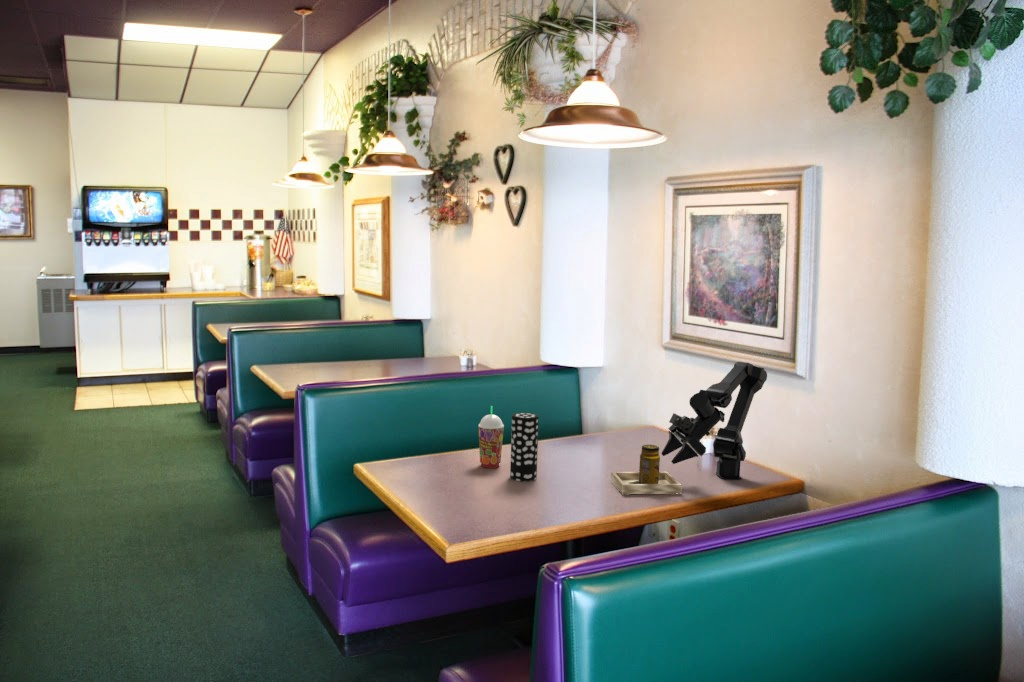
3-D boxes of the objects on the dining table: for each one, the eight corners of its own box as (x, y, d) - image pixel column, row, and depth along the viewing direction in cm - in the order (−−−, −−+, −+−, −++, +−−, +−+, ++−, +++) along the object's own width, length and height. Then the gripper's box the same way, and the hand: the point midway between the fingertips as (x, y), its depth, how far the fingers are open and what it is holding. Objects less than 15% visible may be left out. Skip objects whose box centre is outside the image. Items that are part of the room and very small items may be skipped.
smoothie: (473, 467, 283) (474, 407, 280) (483, 461, 291) (485, 402, 288) (496, 470, 280) (498, 409, 277) (506, 464, 288) (508, 405, 285)
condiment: (664, 485, 265) (666, 447, 263) (643, 489, 260) (645, 450, 259) (648, 479, 271) (650, 442, 269) (627, 483, 266) (629, 445, 265)
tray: (666, 480, 274) (667, 471, 273) (680, 494, 260) (681, 484, 260) (610, 481, 271) (611, 472, 271) (622, 495, 258) (622, 485, 257)
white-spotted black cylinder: (540, 476, 275) (542, 414, 272) (530, 483, 267) (532, 419, 265) (516, 472, 278) (518, 411, 276) (505, 479, 271) (507, 416, 268)
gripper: (676, 399, 274) (640, 433, 273) (698, 411, 255) (660, 448, 255) (698, 423, 276) (663, 457, 276) (721, 437, 258) (684, 474, 257)
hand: (667, 458), depth 266 cm, fingers open, 9 cm apart
